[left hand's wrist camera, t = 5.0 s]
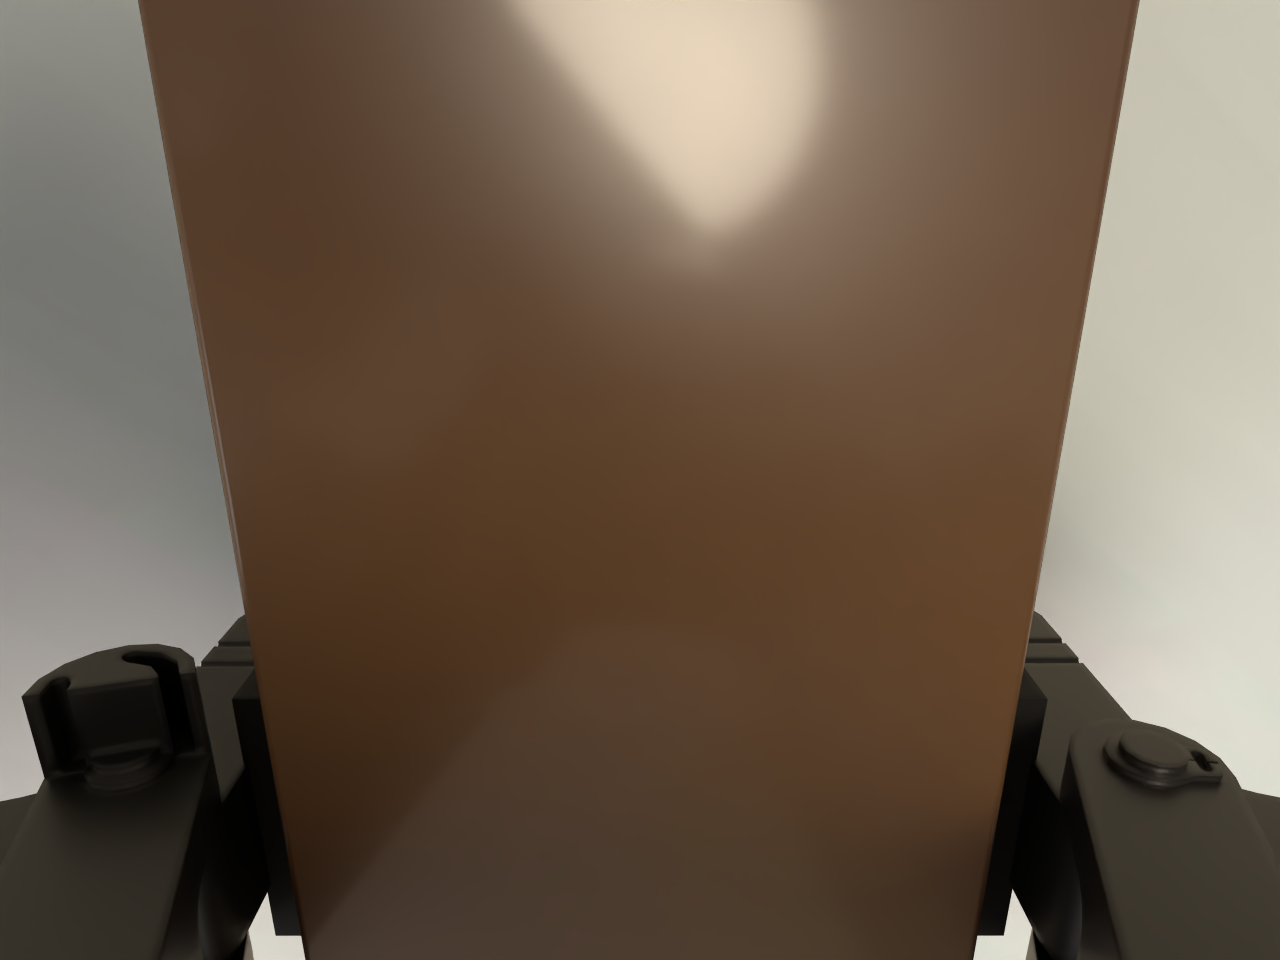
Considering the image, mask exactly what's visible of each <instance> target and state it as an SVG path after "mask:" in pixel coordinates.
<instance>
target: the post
mask: <svg viewBox="0 0 1280 960" xmlns="http://www.w3.org/2000/svg"><path fill="white" fill-rule="evenodd" d="M1139 1H1140V0H138V3H139V9H140V14H141V20H142V26H143V32H144V37H145V43H146V49H147V54H148V60H149V66H150V72H151V77H152V83H153V89H154V95H155V100H156V106H157V112H158V118H159V123H160V129H161V135H162V140H163V146H164V152H165V158H166V163H167V169H168V175H169V181H170V186H171V192H172V198H173V203H174V209H175V215H176V221H177V226H178V232H179V238H180V244H181V249H182V255H183V261H184V266H185V272H186V278H187V284H188V289H189V295H190V301H191V307H192V312H193V318H194V324H195V329H196V335H197V341H198V347H199V352H200V358H201V364H202V370H203V375H204V381H205V387H206V392H207V398H208V404H209V410H210V415H211V421H212V427H213V433H214V438H215V444H216V450H217V455H218V461H219V467H220V473H221V478H222V484H223V490H224V496H225V501H226V507H227V513H228V518H229V524H230V530H231V536H232V541H233V547H234V553H235V559H236V564H237V570H238V576H239V582H240V587H241V593H242V599H243V604H244V610H245V616H246V622H247V627H248V633H249V639H250V645H251V650H252V656H253V662H254V667H255V673H256V679H257V685H258V690H259V696H260V702H261V708H262V713H263V719H264V725H265V730H266V736H267V742H268V748H269V753H270V759H271V765H272V771H273V776H274V782H275V788H276V793H277V799H278V805H279V811H280V816H281V822H282V828H283V834H284V839H285V845H286V851H287V856H288V862H289V868H290V874H291V879H292V885H293V891H294V897H295V902H296V908H297V914H298V919H299V925H300V931H301V937H302V942H303V948H304V954H305V960H973V958H974V952H975V946H976V940H977V934H978V929H979V923H980V917H981V911H982V906H983V900H984V894H985V888H986V883H987V877H988V871H989V865H990V860H991V854H992V848H993V842H994V837H995V831H996V825H997V819H998V813H999V808H1000V802H1001V796H1002V790H1003V785H1004V779H1005V773H1006V767H1007V762H1008V756H1009V750H1010V744H1011V739H1012V733H1013V727H1014V721H1015V715H1016V710H1017V704H1018V698H1019V692H1020V687H1021V681H1022V675H1023V669H1024V664H1025V658H1026V652H1027V646H1028V641H1029V635H1030V629H1031V623H1032V617H1033V612H1034V606H1035V600H1036V594H1037V589H1038V583H1039V577H1040V571H1041V566H1042V560H1043V554H1044V548H1045V543H1046V537H1047V531H1048V525H1049V520H1050V514H1051V508H1052V502H1053V496H1054V491H1055V485H1056V479H1057V473H1058V468H1059V462H1060V456H1061V450H1062V445H1063V439H1064V433H1065V427H1066V422H1067V416H1068V410H1069V404H1070V398H1071V393H1072V387H1073V381H1074V375H1075V370H1076V364H1077V358H1078V352H1079V347H1080V341H1081V335H1082V329H1083V324H1084V318H1085V312H1086V306H1087V300H1088V295H1089V289H1090V283H1091V277H1092V272H1093V266H1094V260H1095V254H1096V249H1097V243H1098V237H1099V231H1100V226H1101V220H1102V214H1103V208H1104V203H1105V197H1106V191H1107V185H1108V179H1109V174H1110V168H1111V162H1112V156H1113V151H1114V145H1115V139H1116V133H1117V128H1118V122H1119V116H1120V110H1121V105H1122V99H1123V93H1124V87H1125V81H1126V76H1127V70H1128V64H1129V58H1130V53H1131V47H1132V41H1133V35H1134V30H1135V24H1136V18H1137V12H1138V7H1139Z"/></svg>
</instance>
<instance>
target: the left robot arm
mask: <svg viewBox="0 0 1280 960" xmlns="http://www.w3.org/2000/svg"><path fill="white" fill-rule="evenodd" d="M218 643H219V644H218V647H214V648H213V649H212V650H211V651H210V652H209V653H208V655H207V656H206V657H205V658H204V659H203V660H202V665H201V667H195V662H194V658H193V657H192V656H190V655H189V654H188V653H186V652H185V651H183V650H182V649H181V648H176V647H171V646H166V645H161V644H146V645H128V646H123V647H118V648H113V649H109V650H104V651H99V652H95V653H93V654H90V655H87V656H85V657H82V658H79V659H77V660H74V661H71V662H69V663H66V664H64V665H62V666H60V667H59V668H57V669H55V670H54V671H52V672H50V673H49V674H47V675H45V676H43V677H42V678H40V679H38V680H37V681H36V682H35V683H34V684H33V685H32V687H31V688H30V689H29V690H28V691H27V692H26V693H25V694H24V695H23V696H22V700H23V704H24V707H25V711H26V714H27V718H28V721H29V725H30V728H31V732H32V735H33V739H34V742H35V746H36V750H37V753H38V757H39V760H40V764H41V767H42V771H43V774H44V780H43V782H42V784H41V786H40V788H39V790H38V792H37V794H33V795H29V796H25V797H21V798H16V799H11V800H6V801H1V802H0V960H254V959H253V951H252V946H251V941H250V936H249V931H248V930H249V928H250V926H251V924H252V922H253V920H254V918H255V916H256V914H257V912H258V910H259V908H260V906H261V904H262V902H263V900H264V898H265V896H266V894H267V892H268V897H269V902H270V907H271V913H272V918H273V923H274V929H275V934H276V936H301V931H300V925H299V919H298V914H297V908H296V902H295V897H294V891H293V885H292V879H291V874H290V868H289V862H288V856H287V851H286V845H285V839H284V834H283V828H282V822H281V816H280V811H279V805H278V799H277V793H276V788H275V782H274V776H273V771H272V765H271V759H270V753H269V748H268V742H267V736H266V730H265V725H264V719H263V713H262V708H261V702H260V696H259V690H258V685H257V679H256V673H255V667H254V662H253V656H252V650H251V645H250V639H249V633H248V627H247V622H246V616H245V615H244V616H242V617H240V618H239V619H238V620H237V621H236V622H235V623H234V624H233V626H232V627H231V628H230V629H229V630H228V631H227V633H226V634H225V635H224V636H223V637H222V638H221V640H220V641H219V642H218ZM1078 659H1079V658H1078V657H1077V656H1076V655H1075V654H1074V652H1073V651H1072V650H1071V649H1070V648H1069V647H1068V646H1067V644H1066V643H1062V639H1061V637H1060V636H1059V635H1058V634H1057V633H1056V632H1055V631H1054V629H1053V628H1052V627H1051V626H1050V625H1049V624H1048V622H1047V621H1046V620H1045V619H1044V618H1043V617H1042V616H1041V615H1040V614H1038V613H1037V612H1035V611H1034V612H1033V617H1032V623H1031V629H1030V635H1029V641H1028V646H1027V652H1026V658H1025V664H1024V669H1023V675H1022V681H1021V687H1020V692H1019V698H1018V704H1017V710H1016V715H1015V721H1014V727H1013V733H1012V739H1011V744H1010V750H1009V756H1008V762H1007V767H1006V773H1005V779H1004V785H1003V790H1002V796H1001V802H1000V808H999V813H998V819H997V825H996V831H995V837H994V842H993V848H992V854H991V860H990V865H989V871H988V877H987V883H986V888H985V894H984V900H983V906H982V911H981V917H980V923H979V929H978V934H977V936H1004V931H1005V926H1006V920H1007V915H1008V910H1009V904H1010V899H1011V894H1012V888H1013V890H1014V892H1015V894H1016V896H1017V898H1018V900H1019V902H1020V904H1021V906H1022V908H1023V910H1024V912H1025V914H1026V916H1027V918H1028V920H1029V922H1030V924H1031V926H1032V931H1031V936H1030V941H1029V946H1028V951H1027V956H1026V960H1280V798H1279V797H1274V796H1269V795H1264V794H1259V793H1255V792H1251V791H1247V790H1244V789H1241V787H1240V785H1239V783H1238V781H1237V779H1236V777H1235V776H1234V775H1233V773H1232V772H1231V771H1230V770H1229V768H1228V767H1227V766H1226V765H1225V764H1224V762H1223V761H1222V760H1221V759H1220V758H1219V757H1218V756H1216V755H1215V754H1213V753H1212V752H1211V751H1209V750H1208V749H1206V748H1205V747H1203V746H1202V745H1200V744H1199V743H1198V742H1196V741H1194V740H1192V739H1190V738H1187V737H1185V736H1183V735H1181V734H1178V733H1176V732H1174V731H1171V730H1169V729H1167V728H1164V727H1160V726H1156V725H1152V724H1148V723H1144V722H1140V721H1136V720H1132V719H1131V718H1130V717H1129V716H1128V715H1127V714H1126V712H1125V711H1124V710H1123V709H1122V708H1121V707H1120V705H1119V704H1118V703H1117V702H1116V701H1115V700H1114V699H1113V697H1112V696H1111V695H1110V694H1109V693H1108V692H1107V690H1106V689H1105V688H1104V687H1103V686H1102V685H1101V684H1100V682H1099V681H1098V680H1097V679H1096V678H1095V677H1094V676H1093V674H1092V673H1091V672H1090V671H1089V670H1088V669H1087V667H1086V666H1085V665H1084V664H1083V663H1079V661H1078Z"/></svg>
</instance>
